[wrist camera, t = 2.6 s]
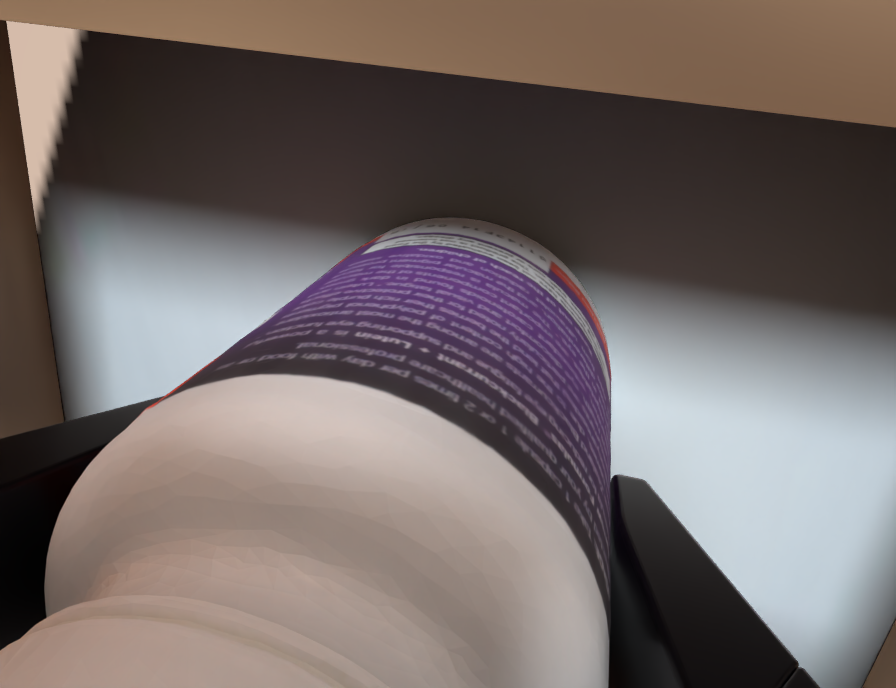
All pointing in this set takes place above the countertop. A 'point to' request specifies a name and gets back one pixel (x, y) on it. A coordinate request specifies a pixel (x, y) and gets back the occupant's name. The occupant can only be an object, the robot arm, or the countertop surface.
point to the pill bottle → (356, 492)
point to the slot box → (477, 55)
